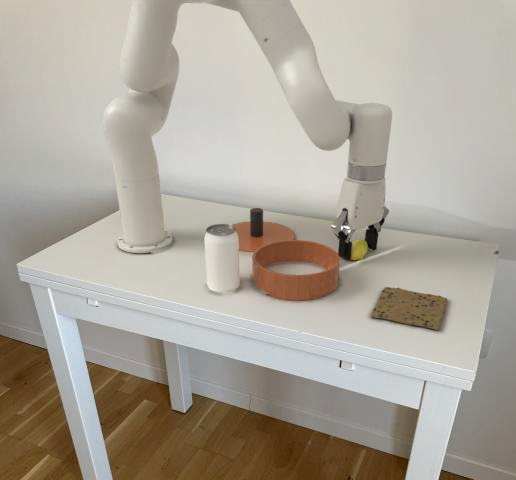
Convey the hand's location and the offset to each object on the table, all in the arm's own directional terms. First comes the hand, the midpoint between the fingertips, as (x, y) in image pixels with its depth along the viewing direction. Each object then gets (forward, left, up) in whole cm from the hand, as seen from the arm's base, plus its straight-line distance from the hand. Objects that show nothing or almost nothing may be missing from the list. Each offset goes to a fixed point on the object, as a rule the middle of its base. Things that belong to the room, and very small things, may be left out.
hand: (357, 252), depth 118 cm
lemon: (0, 0, -1) cm, 1 cm away
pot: (0, -18, -1) cm, 18 cm away
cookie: (+22, -9, -1) cm, 24 cm away
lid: (-22, -11, -1) cm, 25 cm away
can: (-6, -31, -1) cm, 32 cm away
